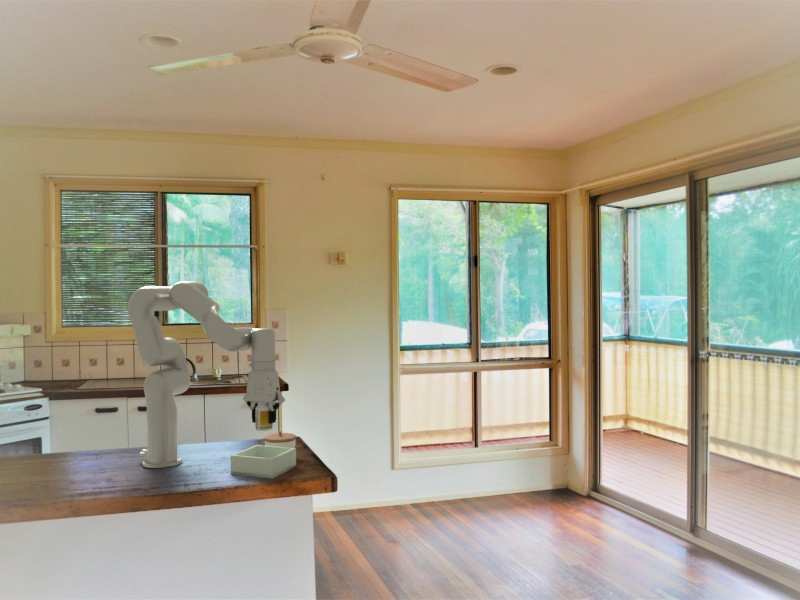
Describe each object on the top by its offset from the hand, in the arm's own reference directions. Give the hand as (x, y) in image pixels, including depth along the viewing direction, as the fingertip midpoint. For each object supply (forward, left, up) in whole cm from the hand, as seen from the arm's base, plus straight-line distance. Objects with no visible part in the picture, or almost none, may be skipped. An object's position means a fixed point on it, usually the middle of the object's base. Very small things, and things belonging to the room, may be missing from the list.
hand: (264, 421), depth 202 cm
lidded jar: (-3, +15, -16) cm, 22 cm away
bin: (0, 0, -16) cm, 16 cm away
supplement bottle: (0, 0, -3) cm, 3 cm away
